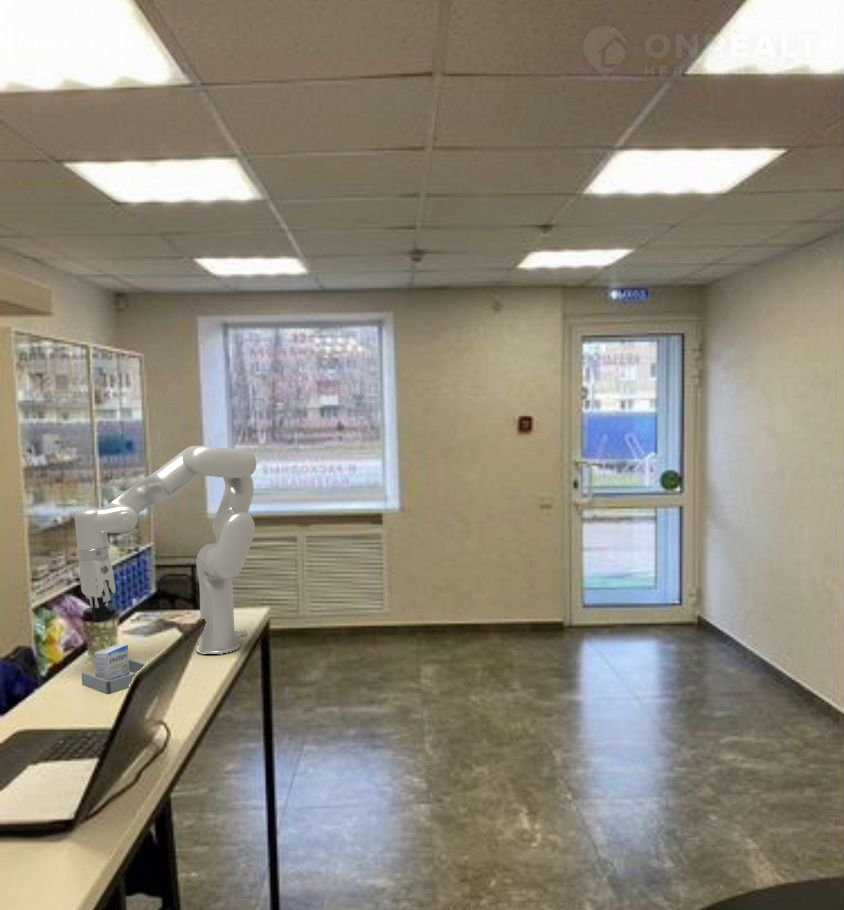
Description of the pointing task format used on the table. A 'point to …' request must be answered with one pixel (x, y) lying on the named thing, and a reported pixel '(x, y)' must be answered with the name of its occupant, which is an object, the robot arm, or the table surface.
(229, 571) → the robot arm
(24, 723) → the table surface
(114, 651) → the medicine box
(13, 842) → the table surface
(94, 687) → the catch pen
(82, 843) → the table surface
